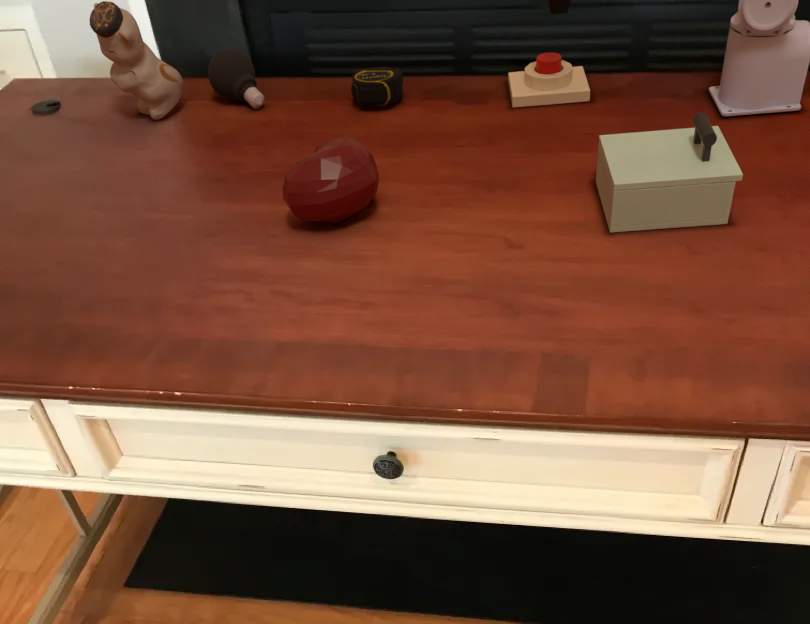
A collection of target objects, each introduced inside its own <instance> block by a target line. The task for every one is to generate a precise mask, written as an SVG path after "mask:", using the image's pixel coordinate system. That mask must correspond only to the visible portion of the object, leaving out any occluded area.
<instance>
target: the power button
mask: <svg viewBox="0 0 810 624" xmlns="http://www.w3.org/2000/svg"><path fill="white" fill-rule="evenodd" d="M535 60H536V72H537V73H539V74H546V75H547V74H555V73H558V72H560V71H561V60H562V55H561V54H560V53H558V52H544V53H543V52H542V53H540V54H538V55H537V56H536V59H535Z"/></svg>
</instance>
